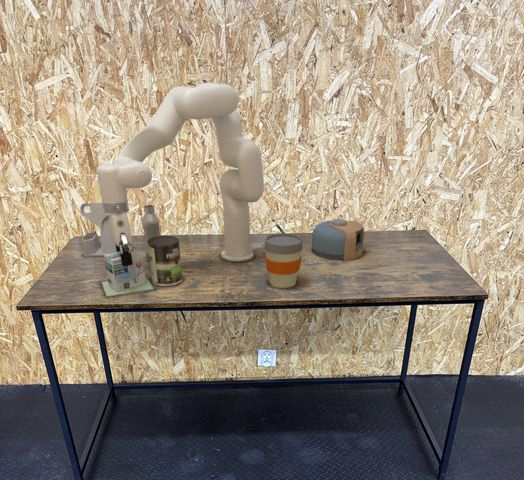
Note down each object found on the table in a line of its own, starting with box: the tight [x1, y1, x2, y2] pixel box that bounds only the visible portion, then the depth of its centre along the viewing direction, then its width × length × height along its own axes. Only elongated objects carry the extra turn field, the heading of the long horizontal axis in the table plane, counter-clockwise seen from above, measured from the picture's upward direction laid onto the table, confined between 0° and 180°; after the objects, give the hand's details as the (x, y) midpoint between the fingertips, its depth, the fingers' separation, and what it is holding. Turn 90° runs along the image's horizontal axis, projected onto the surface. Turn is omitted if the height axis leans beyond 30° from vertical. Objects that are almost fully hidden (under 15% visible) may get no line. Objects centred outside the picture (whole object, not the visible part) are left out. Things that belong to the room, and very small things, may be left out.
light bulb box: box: [103, 247, 146, 292], centre depth 161 cm, size 11×7×11 cm, turn 129°
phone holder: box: [79, 202, 133, 258], centre depth 189 cm, size 17×10×18 cm, turn 91°
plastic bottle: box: [141, 204, 161, 262], centre depth 181 cm, size 6×7×20 cm
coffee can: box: [147, 235, 183, 287], centre depth 165 cm, size 10×10×14 cm
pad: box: [101, 275, 155, 298], centre depth 164 cm, size 15×12×1 cm
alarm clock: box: [311, 218, 365, 261], centre depth 191 cm, size 19×20×12 cm
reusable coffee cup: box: [263, 233, 304, 289], centre depth 164 cm, size 13×13×15 cm
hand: (124, 260), depth 160 cm, fingers open, 9 cm apart
